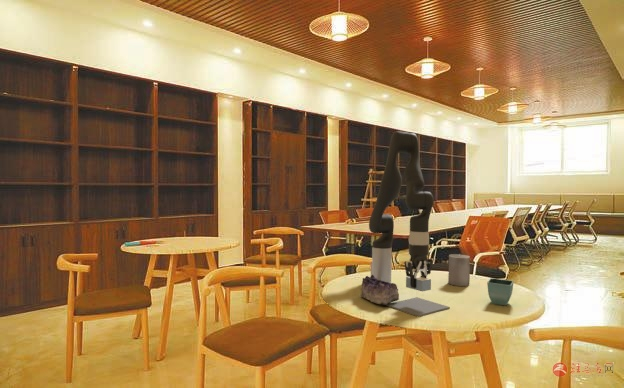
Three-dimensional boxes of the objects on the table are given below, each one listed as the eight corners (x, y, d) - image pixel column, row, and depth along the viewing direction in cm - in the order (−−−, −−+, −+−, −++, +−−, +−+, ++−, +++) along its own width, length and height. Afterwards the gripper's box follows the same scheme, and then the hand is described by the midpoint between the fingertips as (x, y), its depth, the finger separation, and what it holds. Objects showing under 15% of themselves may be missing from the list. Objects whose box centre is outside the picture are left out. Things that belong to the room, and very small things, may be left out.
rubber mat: (386, 305, 158) (386, 304, 158) (417, 298, 168) (417, 297, 168) (418, 316, 145) (418, 315, 145) (449, 308, 155) (449, 306, 155)
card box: (422, 291, 151) (422, 280, 151) (406, 287, 158) (406, 276, 158) (430, 289, 154) (430, 279, 154) (414, 285, 161) (414, 275, 161)
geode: (350, 296, 170) (352, 272, 171) (372, 297, 176) (374, 273, 177) (379, 306, 152) (381, 279, 153) (403, 306, 158) (404, 280, 159)
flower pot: (511, 308, 156) (511, 285, 156) (486, 304, 161) (487, 282, 161) (513, 302, 164) (513, 280, 163) (489, 299, 168) (490, 277, 168)
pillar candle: (453, 280, 201) (454, 250, 201) (473, 284, 194) (473, 253, 194) (444, 283, 194) (445, 252, 194) (464, 287, 187) (464, 255, 187)
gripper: (423, 240, 163) (422, 282, 163) (398, 243, 155) (398, 287, 155) (438, 242, 157) (438, 286, 157) (414, 245, 149) (413, 291, 149)
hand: (418, 286), depth 156 cm, fingers closed on card box, 5 cm apart
